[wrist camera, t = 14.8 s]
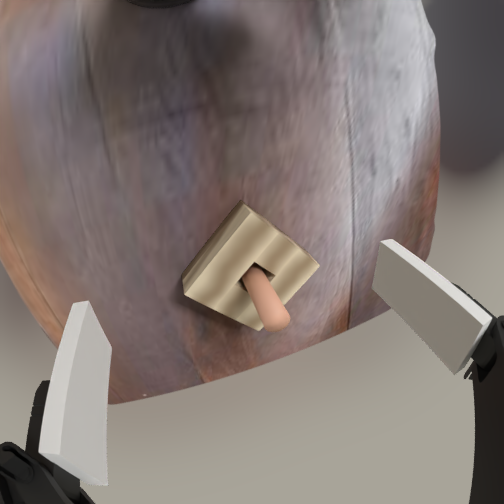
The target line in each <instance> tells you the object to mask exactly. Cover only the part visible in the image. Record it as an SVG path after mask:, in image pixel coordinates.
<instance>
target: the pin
mask: <svg viewBox="0 0 504 504" xmlns="http://www.w3.org/2000/svg"><path fill="white" fill-rule="evenodd" d="M241 278H242V280H243V282H244V284H245V287H246V289H247V291H248V293H249V295H250V297H251V300H252V302H253V304H254V306H255V308H256V310H257V312H258V315H259V317H260V319H261V321H262V323H263V325H264V327H265V329H266V330H267V331H269V332H278V331H281V330H282V329H284V328H285V327H286V326H287V325H288V324H289V322H290V316H289V314H288V312H287V311H286V309H285V307H284V305H283V304H282V302H281V300H280V299H279V297H278V295H277V294H276V292H275V290H274V289H273V287H272V285H271V284H270V282H269V280H268V279H267V277H266V275H265V274H264V272H263V270H262V269H261V267H260V265H259V264H257V263H256V262H254V263H253V264H252V265H251V266H250V267H249V268H248V270H247V271H246V272H245V273H244V274H243V275H242V277H241Z"/></svg>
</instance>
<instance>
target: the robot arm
mask: <svg viewBox="0 0 504 504" xmlns="http://www.w3.org/2000/svg"><path fill="white" fill-rule="evenodd" d="M128 1H130V2H132V3H134V4H136V5H139V6H143V7H149V8H166V7H172V6H177V5H181V4H184V3H186V2H189V1H191V0H128ZM372 289H373V290H374V291H375V292H376V293H377V294H378V295H379V296H380V297H381V298H382V299H383V300H384V301H385V302H386V303H387V304H388V305H389V306H390V307H391V308H392V309H393V310H394V311H395V312H396V313H397V314H398V315H399V316H400V317H401V318H402V319H403V320H404V321H405V322H406V323H407V324H408V325H409V326H410V327H411V328H412V329H413V330H414V332H416V334H418V336H419V337H420V338H421V339H422V340H423V341H424V342H425V343H426V344H427V345H428V346H429V348H430V349H432V351H433V352H434V353H435V354H436V355H437V356H438V357H439V358H440V360H441V361H442V362H443V363H444V364H445V365H446V366H447V367H448V368H449V370H450V371H451V372H452V373H453V374H454V375H455V374H456V373H457V372H459V371H460V370H461V369H462V368H464V367H465V365H466V364H467V362H468V361H469V359H470V358H472V359H473V360H474V361H473V362H472V364H471V365H470V367H469V369H468V370H467V371H466V373H465V375H464V379H466V378H467V377H468V375H469V374H470V372H471V371H472V374H471V375H470V377H469V379H471V380H473V390H474V405H475V453H474V468H473V478H472V487H471V494H470V500H469V504H504V316H499V317H498V318H496V317H495V316H494V315H492V314H491V313H490V312H489V311H488V310H487V309H486V308H484V307H483V306H482V305H481V304H480V303H479V302H477V301H476V300H475V299H473V298H472V297H471V296H470V295H469V294H467V293H466V292H465V291H464V290H463V289H461V288H460V287H459V286H458V285H456V284H454V283H452V282H449V281H448V280H447V279H446V278H444V277H443V276H442V275H440V274H439V273H438V272H437V271H435V270H434V269H433V268H431V267H430V266H429V265H427V264H426V263H425V262H423V261H422V260H421V259H419V258H418V257H417V256H415V255H414V254H412V253H411V252H410V251H408V250H407V249H406V248H404V247H403V246H401V245H400V244H398V243H397V242H396V241H394V240H393V239H388V240H384V241H380V246H379V252H378V258H377V264H376V269H375V275H374V280H373V285H372ZM111 353H112V347H111V345H110V343H109V341H108V339H107V337H106V335H105V334H104V332H103V330H102V328H101V326H100V324H99V321H98V319H97V317H96V315H95V313H94V311H93V309H92V307H91V304H90V302H89V301H83V302H78V303H73V305H72V308H71V311H70V314H69V317H68V320H67V323H66V326H65V329H64V332H63V336H62V339H61V342H60V346H59V349H58V353H57V356H56V360H55V364H54V368H53V372H52V376H51V380H47V381H42V382H41V384H40V386H39V387H38V389H37V391H36V393H35V397H34V402H33V405H34V406H33V407H32V412H31V415H32V416H31V417H30V423H29V428H28V435H27V441H26V449H25V451H24V450H23V449H21V448H20V447H19V446H17V445H16V444H14V443H12V442H4V443H2V444H0V504H95V503H94V502H93V501H92V499H91V498H90V497H89V496H88V495H87V493H86V492H85V491H84V490H83V489H82V488H81V487H80V480H81V481H83V482H85V483H86V484H88V485H102V486H108V477H107V438H106V437H107V401H108V385H109V372H110V362H111Z"/></svg>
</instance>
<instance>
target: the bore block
mask: <svg viewBox="0 0 504 504" xmlns="http://www.w3.org/2000/svg"><path fill="white" fill-rule="evenodd" d="M254 262H256V263H257V264H259V265H260V267H261V269H262V270H263V272H264V274H265V275H266V277H267V279H268V280H269V282H270V284H271V285H272V287H273V289H274V290H275V292H276V294H277V295H278V297H279V299H280V300H281V302H282V304H283V305H285V303H286V302H287V301H288V300H289V299H290V298H291V297H292V296H293V295H294V294H295V293H296V292H297V291H298V290H299V288H300V287H301V286H302V285H303V284H304V283H305V282H306V281H307V280H308V279H309V277H310V276H311V275H312V274H313V273H314V272H315V271H316V270H317V269H318V267H319V266H320V265H319V264H318V263H317V262H316V261H315V260H314V259H313V258H312V257H311V255H310V254H309V253H308V252H307V251H306V250H305V249H304V248H302V247H301V246H300V245H299V244H297V243H296V242H295V241H293V240H292V239H291V238H290V237H288V236H287V235H286V234H285V233H283V232H282V231H281V230H279V229H278V228H277V227H276V226H274V225H273V224H272V223H270V222H269V221H268V220H266V219H265V218H264V217H263V216H261V215H260V214H259V213H257V212H256V211H255V210H253V209H252V208H251V207H249V206H248V205H247V204H245V203H244V202H243V201H242V200H240V201H239V202H238V204H237V205H236V206H235V207H234V209H233V210H232V211H231V212H230V213H229V215H228V216H227V217H226V218H225V220H224V221H223V222H222V223H221V225H220V226H219V227H218V228H217V230H216V231H215V232H214V233H213V235H212V236H211V237H210V239H209V240H208V241H207V242H206V244H205V245H204V246H203V247H202V249H201V250H200V251H199V253H198V254H197V255H196V256H195V258H194V259H193V260H192V262H191V263H190V264H189V265H188V267H187V268H186V269H185V271H184V272H183V273H182V280H183V288H184V295H186V296H188V297H190V298H192V299H194V300H196V301H198V302H200V303H202V304H204V305H206V306H208V307H210V308H212V309H214V310H216V311H218V312H220V313H222V314H224V315H226V316H228V317H230V318H232V319H234V320H236V321H238V322H241V323H243V324H245V325H247V326H249V327H251V328H254V329H256V330H258V331H260V330H261V329H262V328H263V326H264V325H263V323H262V321H261V319H260V317H259V315H258V312H257V310H256V308H255V306H254V304H253V302H252V300H251V297H250V295H249V293H248V291H247V289H246V287H245V284H244V282H243V280H242V278H241V277H242V275H243V274H244V273H245V272H246V271H247V270H248V268H249V267H250V266H251V265H252V264H253V263H254Z"/></svg>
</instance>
